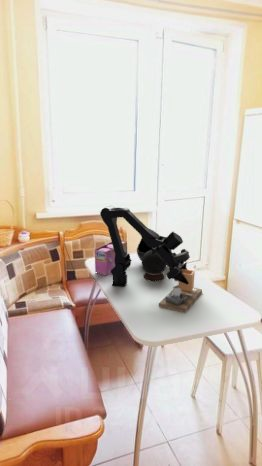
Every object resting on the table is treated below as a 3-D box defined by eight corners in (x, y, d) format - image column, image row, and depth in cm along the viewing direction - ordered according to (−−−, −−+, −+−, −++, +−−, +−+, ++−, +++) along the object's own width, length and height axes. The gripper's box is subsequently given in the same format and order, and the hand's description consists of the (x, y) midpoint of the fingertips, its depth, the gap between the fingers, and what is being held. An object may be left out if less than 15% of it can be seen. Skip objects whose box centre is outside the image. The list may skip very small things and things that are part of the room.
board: (185, 312, 137) (185, 309, 136) (158, 306, 142) (158, 302, 142) (201, 292, 156) (202, 288, 156) (177, 287, 162) (177, 284, 162)
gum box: (117, 260, 201) (117, 239, 198) (129, 262, 197) (129, 240, 194) (94, 273, 181) (94, 249, 177) (107, 275, 177) (106, 251, 174)
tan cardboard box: (178, 289, 152) (179, 273, 150) (181, 284, 158) (181, 268, 156) (191, 291, 150) (192, 275, 148) (193, 286, 156) (194, 270, 154)
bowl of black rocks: (132, 261, 199) (132, 231, 194) (163, 258, 205) (163, 229, 200) (143, 273, 180) (143, 240, 176) (176, 269, 186) (178, 237, 181)
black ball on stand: (169, 281, 170) (170, 253, 166) (144, 283, 167) (145, 254, 164) (162, 272, 182) (162, 245, 179) (138, 273, 180) (139, 247, 176)
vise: (165, 301, 143) (166, 287, 142) (178, 294, 150) (178, 281, 149) (178, 306, 139) (179, 292, 138) (190, 298, 146) (191, 285, 145)
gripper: (174, 251, 142) (199, 278, 141) (183, 240, 159) (205, 264, 158) (156, 266, 147) (180, 292, 146) (167, 253, 164) (188, 277, 163)
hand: (189, 281), depth 153 cm, fingers closed on tan cardboard box, 6 cm apart
